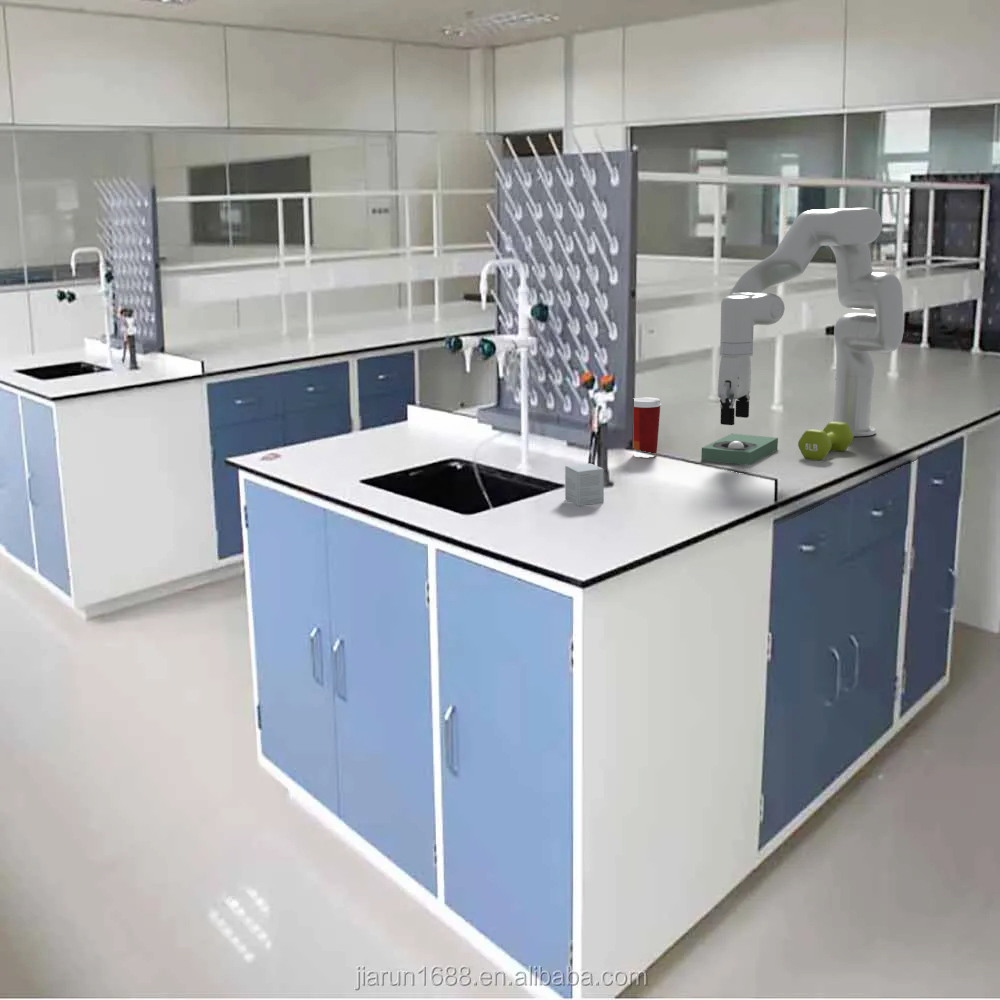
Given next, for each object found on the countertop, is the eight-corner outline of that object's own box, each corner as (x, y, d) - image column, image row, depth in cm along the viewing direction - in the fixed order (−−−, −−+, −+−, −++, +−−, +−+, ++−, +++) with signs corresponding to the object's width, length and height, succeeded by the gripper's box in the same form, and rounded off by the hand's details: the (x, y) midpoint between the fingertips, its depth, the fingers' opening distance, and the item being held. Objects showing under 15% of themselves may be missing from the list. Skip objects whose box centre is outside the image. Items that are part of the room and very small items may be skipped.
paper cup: (665, 454, 262) (667, 398, 258) (652, 460, 256) (653, 402, 252) (637, 451, 266) (638, 396, 262) (623, 457, 260) (623, 400, 256)
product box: (590, 496, 223) (591, 462, 221) (604, 503, 218) (604, 468, 216) (564, 499, 221) (564, 465, 219) (577, 506, 216) (577, 471, 214)
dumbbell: (824, 447, 267) (826, 419, 265) (855, 451, 262) (857, 422, 260) (794, 458, 255) (796, 429, 254) (825, 463, 250) (827, 433, 248)
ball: (725, 459, 258) (731, 451, 260) (741, 460, 255) (747, 453, 258) (724, 444, 256) (730, 437, 258) (740, 446, 254) (746, 438, 256)
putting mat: (731, 445, 271) (731, 433, 271) (777, 449, 265) (778, 437, 264) (701, 460, 255) (701, 447, 254) (749, 465, 249) (750, 452, 248)
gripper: (734, 344, 258) (732, 413, 262) (707, 353, 244) (706, 426, 249) (764, 345, 254) (762, 415, 259) (738, 354, 240) (736, 428, 245)
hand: (734, 420), depth 254 cm, fingers open, 9 cm apart
